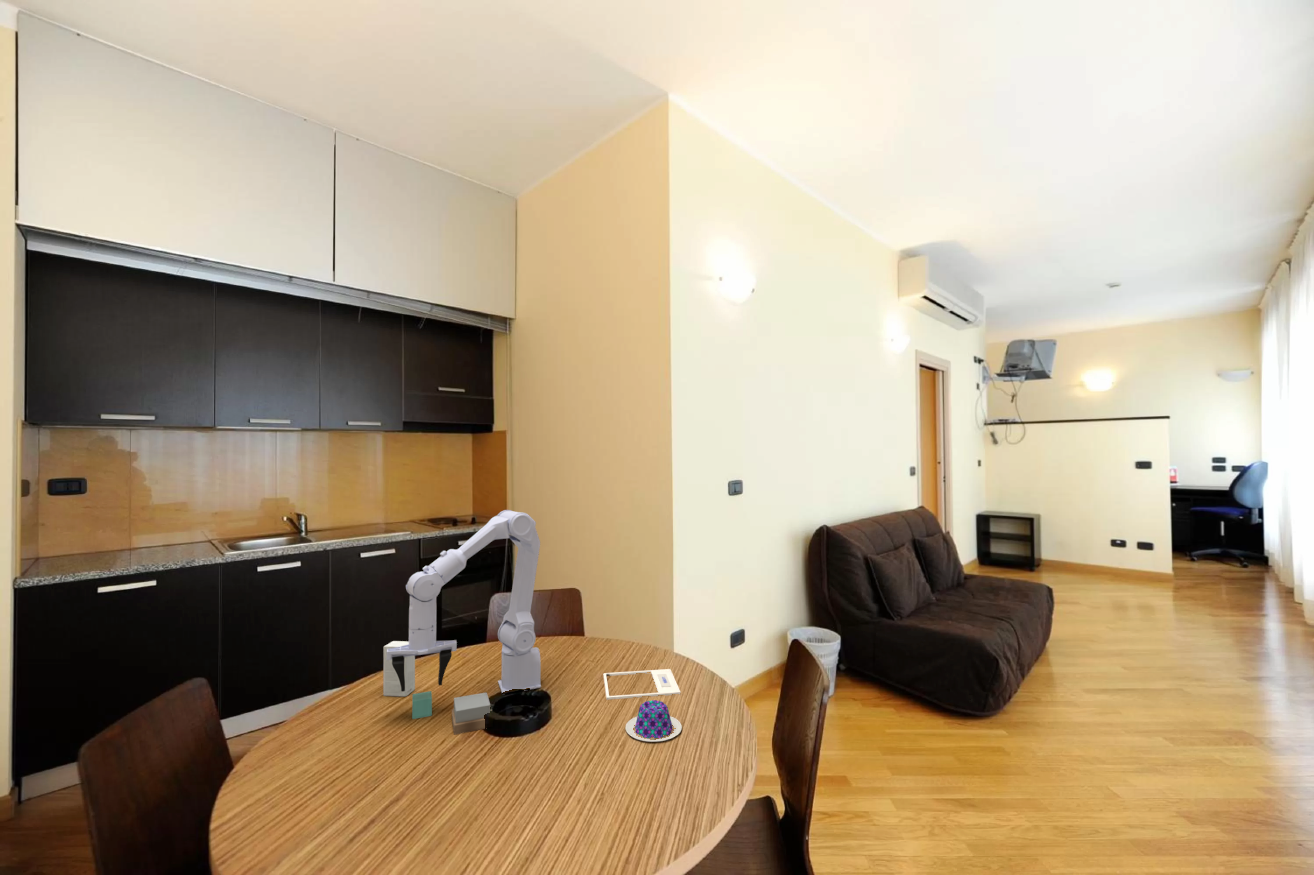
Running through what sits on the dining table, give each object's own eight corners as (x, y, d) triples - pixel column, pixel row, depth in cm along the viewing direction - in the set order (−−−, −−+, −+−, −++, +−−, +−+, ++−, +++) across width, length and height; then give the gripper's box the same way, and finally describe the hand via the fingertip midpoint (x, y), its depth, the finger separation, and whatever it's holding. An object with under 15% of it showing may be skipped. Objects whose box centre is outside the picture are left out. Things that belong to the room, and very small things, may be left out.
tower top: (486, 703, 125) (486, 692, 125) (490, 716, 118) (490, 704, 118) (453, 709, 122) (453, 697, 122) (455, 723, 116) (455, 711, 116)
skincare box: (415, 689, 137) (415, 641, 137) (406, 697, 132) (406, 647, 133) (392, 688, 137) (392, 640, 138) (382, 696, 133) (382, 646, 133)
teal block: (431, 708, 127) (431, 690, 127) (431, 715, 123) (431, 697, 123) (412, 711, 125) (412, 694, 125) (412, 719, 121) (412, 701, 121)
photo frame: (680, 691, 133) (606, 696, 131) (680, 695, 133) (606, 701, 131) (670, 668, 148) (603, 672, 145) (670, 672, 148) (603, 676, 145)
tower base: (489, 713, 125) (489, 702, 125) (493, 729, 118) (493, 717, 118) (451, 720, 122) (451, 709, 122) (454, 737, 115) (454, 725, 115)
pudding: (616, 724, 119) (616, 699, 120) (665, 712, 125) (665, 689, 125) (639, 750, 109) (639, 723, 109) (692, 736, 114) (692, 711, 114)
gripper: (386, 635, 118) (385, 699, 118) (457, 627, 124) (457, 687, 123) (387, 626, 124) (386, 686, 124) (455, 618, 130) (454, 676, 130)
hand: (421, 686), depth 124 cm, fingers open, 7 cm apart
